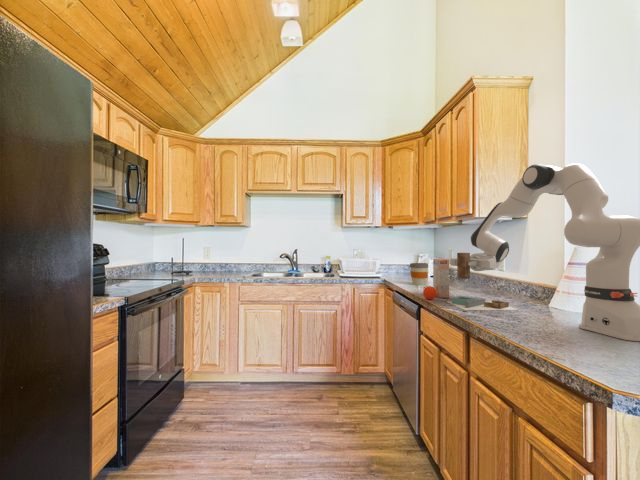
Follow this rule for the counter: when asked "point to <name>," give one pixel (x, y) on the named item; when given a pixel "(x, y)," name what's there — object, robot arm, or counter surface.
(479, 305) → the jamb board
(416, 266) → the reusable coffee cup
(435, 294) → the clementine
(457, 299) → the index socket
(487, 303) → the keeper
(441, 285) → the cracker box
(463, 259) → the stop bar
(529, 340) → the counter surface
